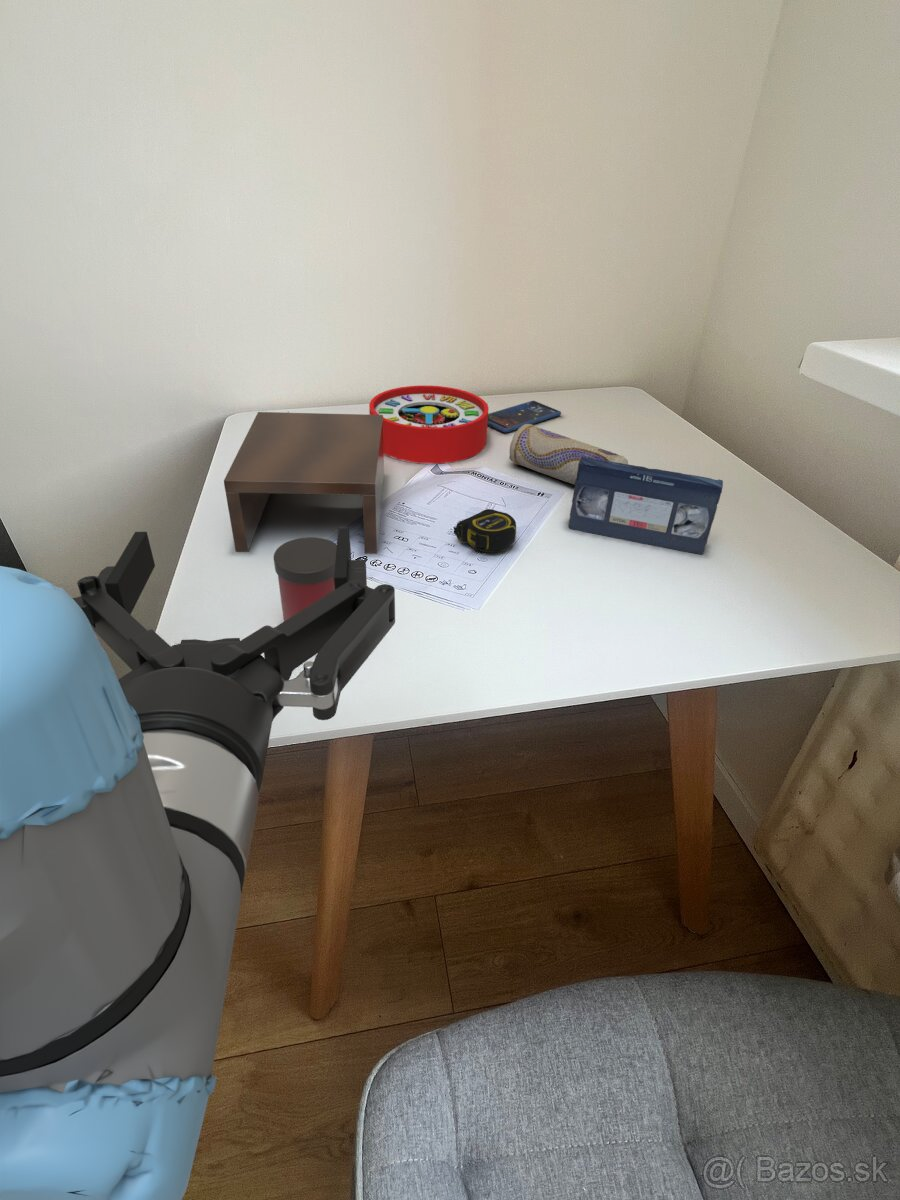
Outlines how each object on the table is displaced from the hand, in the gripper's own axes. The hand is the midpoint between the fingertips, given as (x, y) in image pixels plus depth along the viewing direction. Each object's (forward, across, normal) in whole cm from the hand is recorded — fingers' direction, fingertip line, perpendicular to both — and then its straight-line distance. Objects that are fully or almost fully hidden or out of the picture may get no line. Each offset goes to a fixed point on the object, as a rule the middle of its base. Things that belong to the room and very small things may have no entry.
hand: (246, 546), depth 49 cm
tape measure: (+37, -23, +21) cm, 48 cm away
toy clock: (+71, -17, +20) cm, 76 cm away
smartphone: (+80, -35, +19) cm, 90 cm away
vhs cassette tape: (+38, -44, +21) cm, 62 cm away
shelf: (+46, 0, +20) cm, 51 cm away
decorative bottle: (+53, -40, +21) cm, 69 cm away
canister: (+19, -2, +22) cm, 29 cm away
